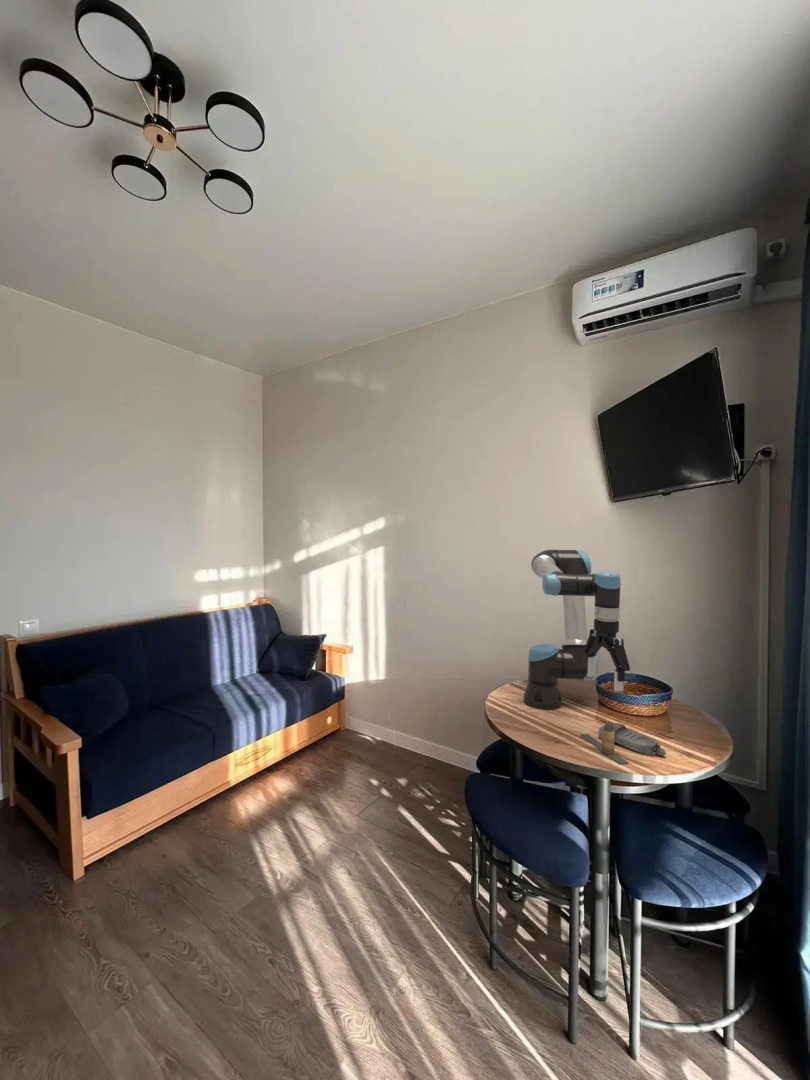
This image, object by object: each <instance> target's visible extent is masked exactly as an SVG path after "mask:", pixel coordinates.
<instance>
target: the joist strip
mask: <svg viewBox="0 0 810 1080" xmlns="http://www.w3.org/2000/svg"><path fill="white" fill-rule="evenodd" d="M579 737H582V739H584V740H585V741H587V742H588V743H590V744H591V745H592V746H594V747H595V748H597V750H599V751H600V752H602V742H600V741H598V740H597V739H596V738H594V737H593V736H592V735H590V734H588V733H583V734H579ZM605 755H606V756H607V757H609V758H610V759H611V760H613V761H614V762H615V763H617V764H618V765H628V764H629V762H628V761H627V760H625V759H624V758H623V757H621V756H619V755H618V754H617V753H616V752H614V754H613V755H608V754H605Z"/></svg>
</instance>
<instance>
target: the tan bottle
mask: <svg viewBox="0 0 810 1080" xmlns="http://www.w3.org/2000/svg"><path fill="white" fill-rule="evenodd" d="M612 723H613V722H608V721H605V722H604V725H605V727H604V728H603V732H602V738H601V739H602V741H601V744H602V751H601V752H602V753H603V754H605V755H606V754H608V755H613V754H614V753H615V743H616V742H615V731H614V730H613V724H612Z"/></svg>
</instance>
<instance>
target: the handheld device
mask: <svg viewBox="0 0 810 1080" xmlns="http://www.w3.org/2000/svg"><path fill="white" fill-rule="evenodd" d="M611 723H612V724H613V730H614V731H615V743H616V744H618V745H620V746H622V747H625V748H628V749H629V750H632V751H635V752H637V753H638V754H639V753H640V754H642V755H645V756H649V757H655V756H656V755H659V756H665V755H666V754H667V752H666V750H665V749H664V748H662V746H661V744H660V742H659V741H657V740H655V739H654V738H652V737H649V736H646V735H644V734H641V733H638V732H635V731H632V730H629V729H627V728H626V725H625V724H623V723H619V722H611ZM604 727H605V724H604V725H602V726H600V727H599V728H598V732H597V733H598V737H600V739H602V732H603V728H604Z"/></svg>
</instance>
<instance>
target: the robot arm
mask: <svg viewBox="0 0 810 1080" xmlns="http://www.w3.org/2000/svg"><path fill="white" fill-rule="evenodd" d="M530 564H531V569H532V572H533V573H534V574H535V575H536V576H537V577H539V578H541V579H542V591H543V593H544V594H545V595H546V596H547V595H549V596H556V597H557V596H562V598H563V599H562V600H563V601H562V602H563V618H564V619H563V620H564V636H565V637H564V638H565V641H564V642H563V643H562V645H561V648H559V646H558V645H556V644H553V643H552V644H550V643H542V644H536V645H534V646H531V647H530V648H529V650H528V657H527V660H528V668H527V669H528V676H527V681H528V682H527V685H526V688H525V690H524V693H523V703H525V704H526V705H527V706H530V707H532V708H535V709H541V710H556V709H560V708H561V707H562V706H563V698H562V695H561V692H560V688H559V685H558V683H559V679H561V680H562V679H566V680H581V681H584V680H585V681H587V680H590V681H591V680H593V679H594V678H595V677H597V674H598V669H599V656H598V655H599V653H598V652H599V651H600V650H601V648H604V649H606V651H607V652H609V655H610V658H611V659H612V662H613V664H614V666H615V669H614V677H613V678H614V679H613V680H614V683H613V690H614V692H623V691H624V682H625V676H626V675H625V672H630V670H631V667H630V663H629V661H628V660H629V659H628V655H627V652H626V649H625V645H624V644H625V642H624V638H617V633H619V632H620V621H619V620H620V613H621V612H620V611H621V609H620V602H621V599H620V598H621V585H622V584H621V575H620V574H619V572H614V571H598V572H596V573H592V563H591V559H590V556H589V554H588V553H587V552H586V551H584V550H579V549H578V550H577V549H547V550H543V551H540V552H538V553H537V554H536V555H535V556H534V557H533V559H532V560H531V563H530ZM586 597H594V611H593V612H594V615H593V616H594V620H593V629H589V634H588V628H587V626H588V625H587V614H586V599H585V598H586ZM588 635H589V636H588Z"/></svg>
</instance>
